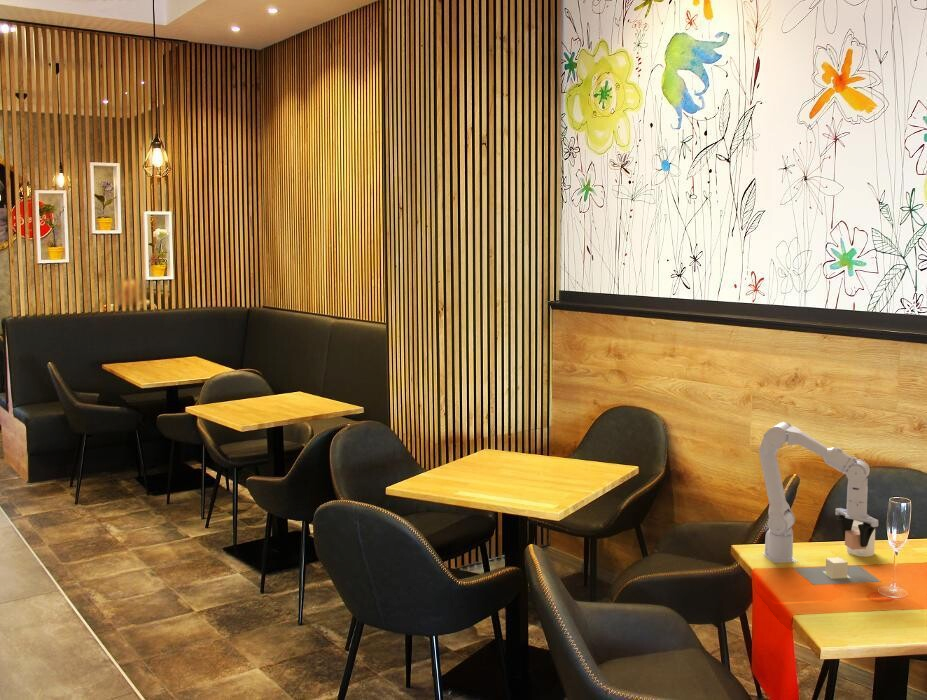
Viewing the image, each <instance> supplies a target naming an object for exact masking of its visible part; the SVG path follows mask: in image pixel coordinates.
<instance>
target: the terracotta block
mask: <svg viewBox="0 0 927 700" xmlns="http://www.w3.org/2000/svg"><path fill="white" fill-rule="evenodd" d="M844 545H845V546H846V548H847V547H849V548H850V549H852V550H854V549H866V547H861V545H860V531H859V530H849V531H845V541H844Z"/></svg>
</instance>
